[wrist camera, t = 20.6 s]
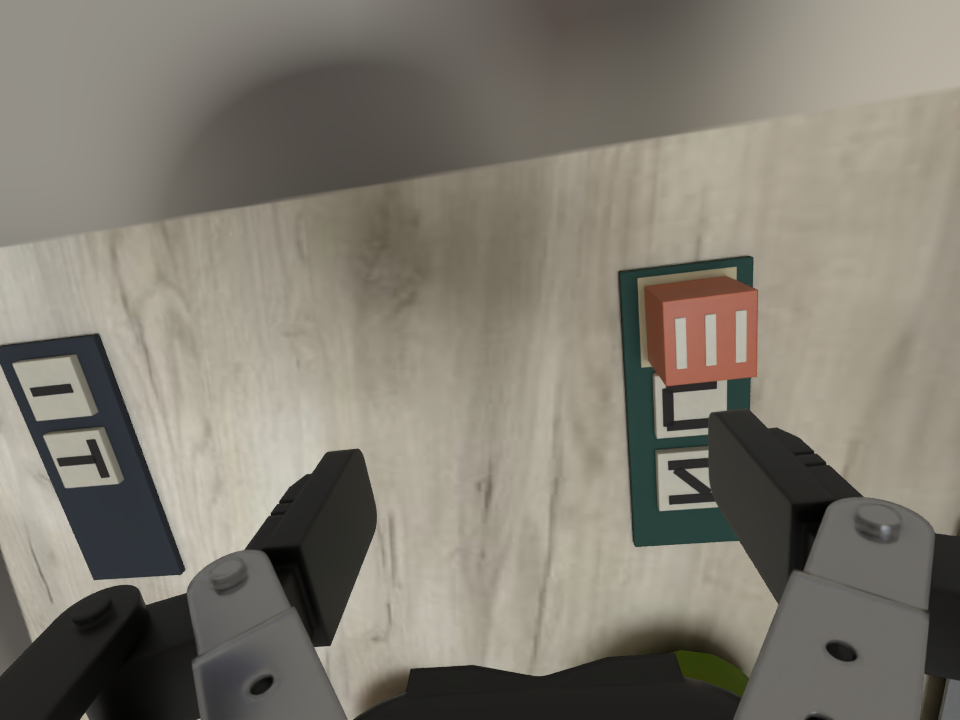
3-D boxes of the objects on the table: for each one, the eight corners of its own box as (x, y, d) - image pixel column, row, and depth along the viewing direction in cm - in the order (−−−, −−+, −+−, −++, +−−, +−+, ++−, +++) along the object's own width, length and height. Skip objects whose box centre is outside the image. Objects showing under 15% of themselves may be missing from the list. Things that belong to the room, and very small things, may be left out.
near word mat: (618, 271, 30) (622, 274, 28) (750, 255, 29) (759, 258, 28) (633, 542, 35) (637, 554, 34) (744, 535, 34) (751, 547, 33)
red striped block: (643, 286, 29) (662, 301, 25) (727, 275, 29) (759, 289, 25) (647, 361, 30) (666, 387, 27) (727, 352, 30) (758, 377, 26)
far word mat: (0, 345, 34) (-18, 351, 33) (98, 333, 33) (83, 339, 32) (98, 575, 39) (86, 587, 38) (185, 570, 39) (175, 581, 38)
